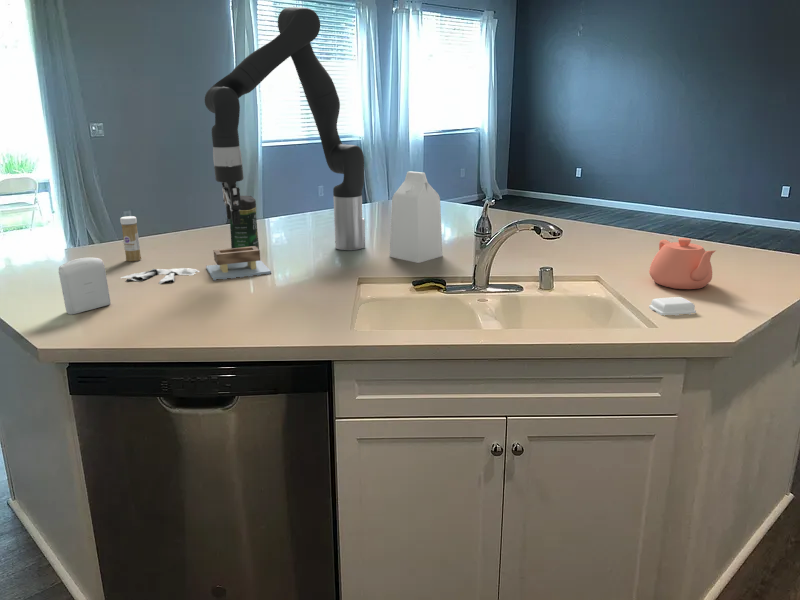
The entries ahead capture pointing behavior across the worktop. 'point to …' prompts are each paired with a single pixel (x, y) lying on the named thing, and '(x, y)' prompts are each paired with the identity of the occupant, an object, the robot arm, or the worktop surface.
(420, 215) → the milk
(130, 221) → the sprinkles bottle
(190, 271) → the cloth
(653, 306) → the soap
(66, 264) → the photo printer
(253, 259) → the frame
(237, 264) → the panel
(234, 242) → the coffee jar
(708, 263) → the teapot
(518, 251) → the worktop surface
